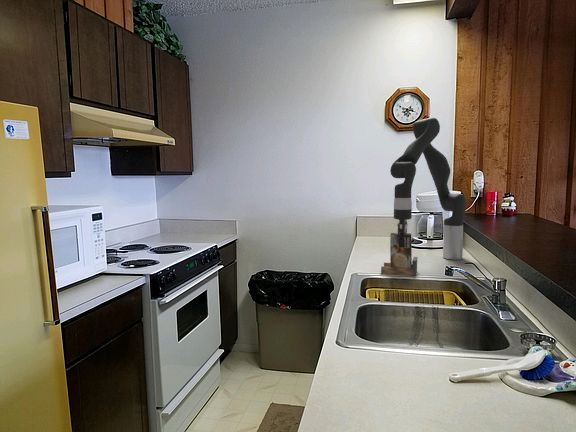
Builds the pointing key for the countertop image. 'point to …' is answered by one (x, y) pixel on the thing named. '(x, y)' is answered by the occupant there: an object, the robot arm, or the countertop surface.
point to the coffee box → (400, 251)
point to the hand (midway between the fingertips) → (402, 245)
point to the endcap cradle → (400, 269)
